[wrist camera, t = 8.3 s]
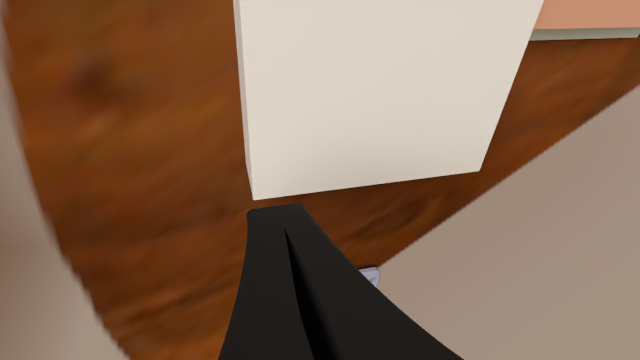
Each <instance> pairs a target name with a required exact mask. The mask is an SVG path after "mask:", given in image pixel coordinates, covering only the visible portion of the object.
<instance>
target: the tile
mask: <svg viewBox="0 0 640 360" xmlns="http://www.w3.org/2000/svg"><path fill="white" fill-rule="evenodd" d="M624 27H640V0H544V2H543V4H542V7H541V10H540V12H539V15H538V17H537V20H536V23H535V25H534V28H533V29H573V28H624Z"/></svg>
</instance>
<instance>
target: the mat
mask: <svg viewBox="0 0 640 360" xmlns="http://www.w3.org/2000/svg"><path fill="white" fill-rule="evenodd" d="M639 33H640V27H624V28H573V29H533V31H532V33H531V36H530V39H529V40H562V39H598V38H635V37H638V35H639Z"/></svg>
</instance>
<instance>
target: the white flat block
mask: <svg viewBox="0 0 640 360" xmlns="http://www.w3.org/2000/svg"><path fill="white" fill-rule="evenodd" d="M543 2H544V0H233V6H234V18H235V31H236V43H237V56H238V68H239V81H240V93H241V106H242V118H243V131H244V144H245V156H246V166H247V171H248V176H249V181H250V186H251V191H252V196H253V200H259V199H266V198H274V197H282V196H290V195H297V194H305V193H313V192H321V191H328V190H336V189H344V188H352V187H359V186H367V185H375V184H383V183H390V182H398V181H406V180H414V179H421V178H429V177H437V176H445V175H452V174H460V173H468V172H476V171H479V170H480V168H481V165H482V162H483V160H484V157H485V155H486V152H487V149H488V147H489V144H490V141H491V139H492V136H493V133H494V131H495V128H496V126H497V123H498V120H499V118H500V115H501V112H502V110H503V107H504V104H505V102H506V99H507V97H508V94H509V91H510V89H511V86H512V83H513V81H514V78H515V75H516V73H517V70H518V68H519V65H520V62H521V60H522V57H523V54H524V52H525V49H526V46H527V44H528V41H529V39H530V36H531V33H532V31H533V28H534V25H535V23H536V20H537V17H538V15H539V12H540V10H541V7H542V4H543Z"/></svg>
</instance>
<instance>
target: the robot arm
mask: <svg viewBox="0 0 640 360" xmlns="http://www.w3.org/2000/svg"><path fill="white" fill-rule="evenodd" d="M247 225H248V234H247V245H246V253H245V259H244V264H243V270H242V275H241V281H240V285H239V289H238V293H237V297H236V301H235V305H234V309H233V312H232V316H231V320H230V323H229V327H228V330H227V333H226V337H225V340H224V343H223V346H222V349H221V352H220V355H219V358H218V360H464V359H462V358H461V357H459V356H458V355H457V354H455V353H454V352H452V351H451V350H450V349H448V348H447V347H446V346H444V345H443V344H442V343H440V342H439V341H437V340H436V339H435V338H434V337H433V336H431V335H430V334H429V333H428V332H426V331H425V330H424V329H423V328H421V327H420V326H419V325H418V324H417V323H415V322H414V321H413V320H412V319H410V318H409V317H408V316H407V315H406V314H405V313H403V312H402V311H401V310H400V309H399V308H398V307H397V306H396V305H394V304H393V303H392V302H391V301H390V300H389V299H388V298H387V297H386V296H384V295H383V294H382V293H381V292H380V291H379V290H378V289H377V284H378V280H379V276H380V271H379V269H378V268H377V267H371V268H366V269H360V270H358V269H357V268H356V267H355V266H354V265H353V264H352V262H351V261H350V260H349V259H348V258H347V257H346V256H345V255H344V254H343V253H342V252H341V251H340V249H339V248H338V247H337V246H336V245H335V244H334V243H333V242H332V240H331V239H330V238H329V237H328V236H327V234H326V233H325V232H324V231H323V230H322V228H321V227H320V226H319V225H318V223H317V222H316V221H315V220H314V218H313V217H312V216H311V214H310V213H309V212H308V210H307V209H306V208H305V206H304V205H302V204H301V203H295V204H288V205H281V206H273V207H266V208H258V209H251V210H250V211H249V212H248V213H247Z"/></svg>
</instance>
